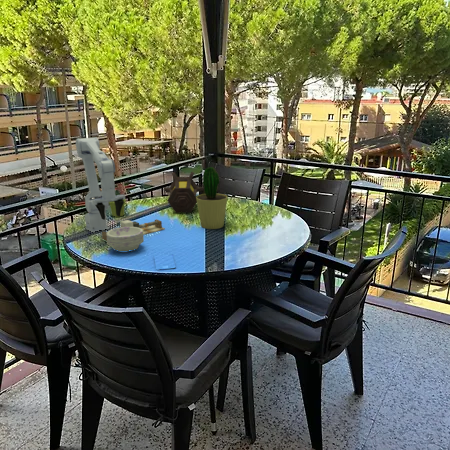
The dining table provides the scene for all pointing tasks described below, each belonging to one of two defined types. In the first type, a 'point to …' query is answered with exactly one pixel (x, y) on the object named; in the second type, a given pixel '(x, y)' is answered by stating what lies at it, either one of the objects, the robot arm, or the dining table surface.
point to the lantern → (183, 193)
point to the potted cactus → (211, 201)
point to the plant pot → (115, 208)
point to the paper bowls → (125, 238)
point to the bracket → (136, 224)
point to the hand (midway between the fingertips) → (110, 217)
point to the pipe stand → (145, 228)
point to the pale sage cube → (126, 223)
